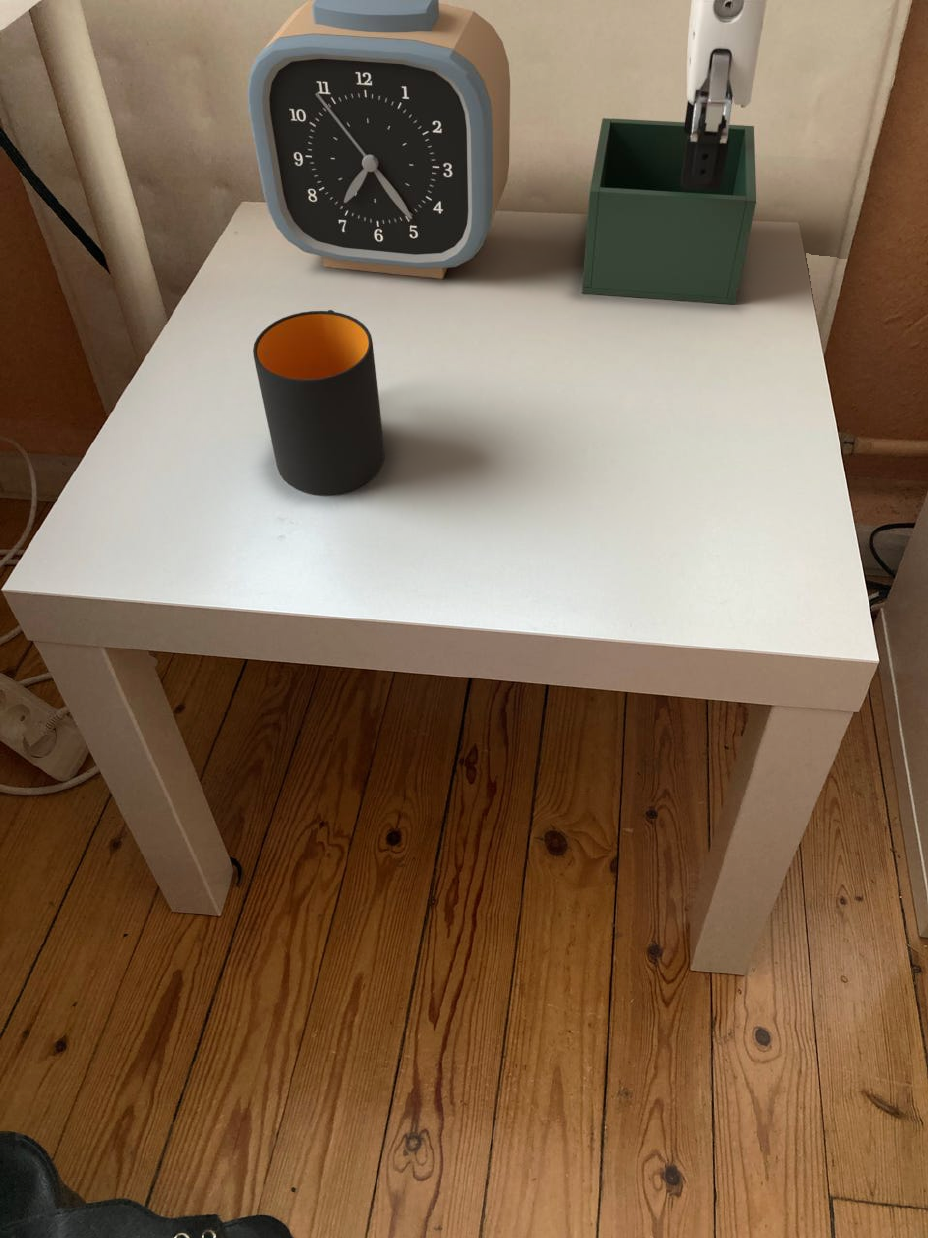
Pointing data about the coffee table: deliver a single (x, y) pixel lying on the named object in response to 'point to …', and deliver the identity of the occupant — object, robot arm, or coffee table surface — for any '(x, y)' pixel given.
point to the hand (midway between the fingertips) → (701, 159)
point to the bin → (666, 216)
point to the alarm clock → (383, 132)
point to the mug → (321, 400)
